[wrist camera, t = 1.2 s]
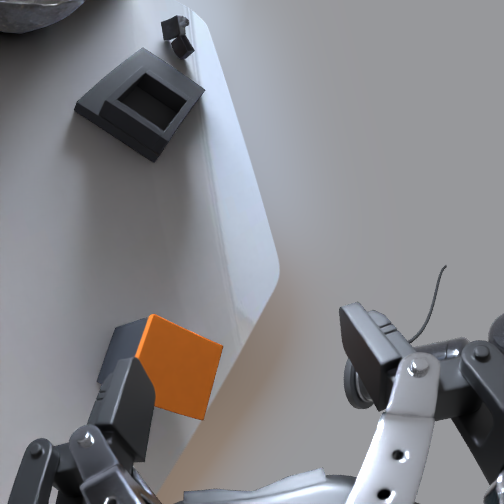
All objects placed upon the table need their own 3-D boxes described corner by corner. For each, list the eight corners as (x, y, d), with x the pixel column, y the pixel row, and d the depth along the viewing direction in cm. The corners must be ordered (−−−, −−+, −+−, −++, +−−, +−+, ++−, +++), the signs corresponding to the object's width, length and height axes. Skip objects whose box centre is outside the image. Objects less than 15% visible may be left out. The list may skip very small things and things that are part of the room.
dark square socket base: (200, 96, 42) (215, 79, 39) (153, 163, 33) (168, 143, 30) (138, 54, 36) (150, 35, 33) (73, 110, 28) (81, 86, 25)
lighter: (176, 61, 44) (198, 55, 42) (167, 63, 43) (189, 56, 40) (169, 21, 40) (191, 13, 37) (160, 22, 39) (182, 12, 36)
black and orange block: (166, 350, 28) (223, 345, 21) (150, 402, 25) (203, 420, 18) (115, 326, 25) (153, 313, 18) (95, 381, 23) (126, 396, 15)
